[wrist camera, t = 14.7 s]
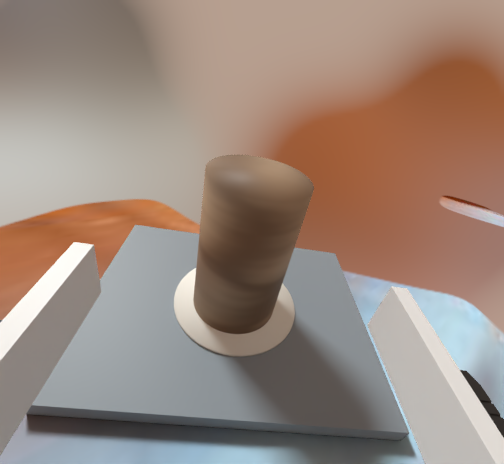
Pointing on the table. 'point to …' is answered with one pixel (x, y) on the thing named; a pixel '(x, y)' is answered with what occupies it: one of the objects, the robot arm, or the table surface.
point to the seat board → (222, 352)
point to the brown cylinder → (246, 239)
